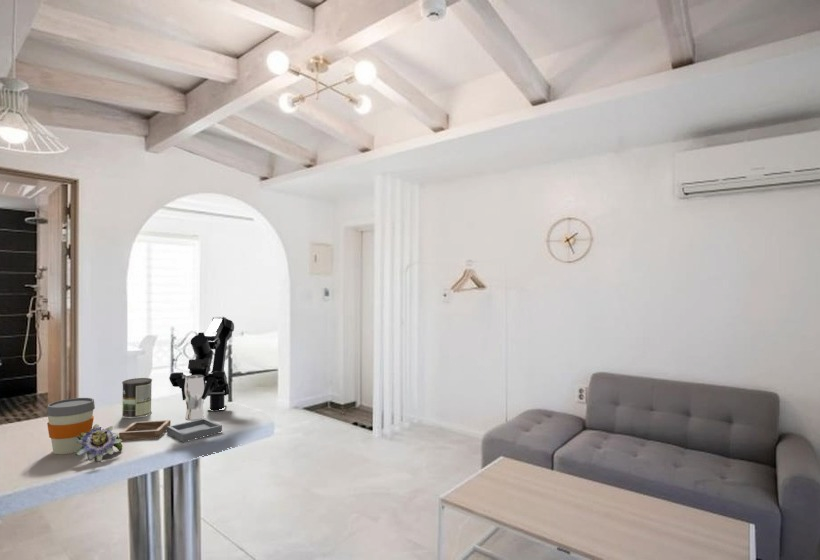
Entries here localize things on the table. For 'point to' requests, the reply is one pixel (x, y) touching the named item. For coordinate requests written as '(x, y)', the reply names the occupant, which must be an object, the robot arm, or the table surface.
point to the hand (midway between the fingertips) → (193, 399)
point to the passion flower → (98, 442)
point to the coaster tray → (193, 429)
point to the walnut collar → (131, 434)
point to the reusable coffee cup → (69, 423)
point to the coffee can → (136, 397)
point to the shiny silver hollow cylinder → (194, 396)
